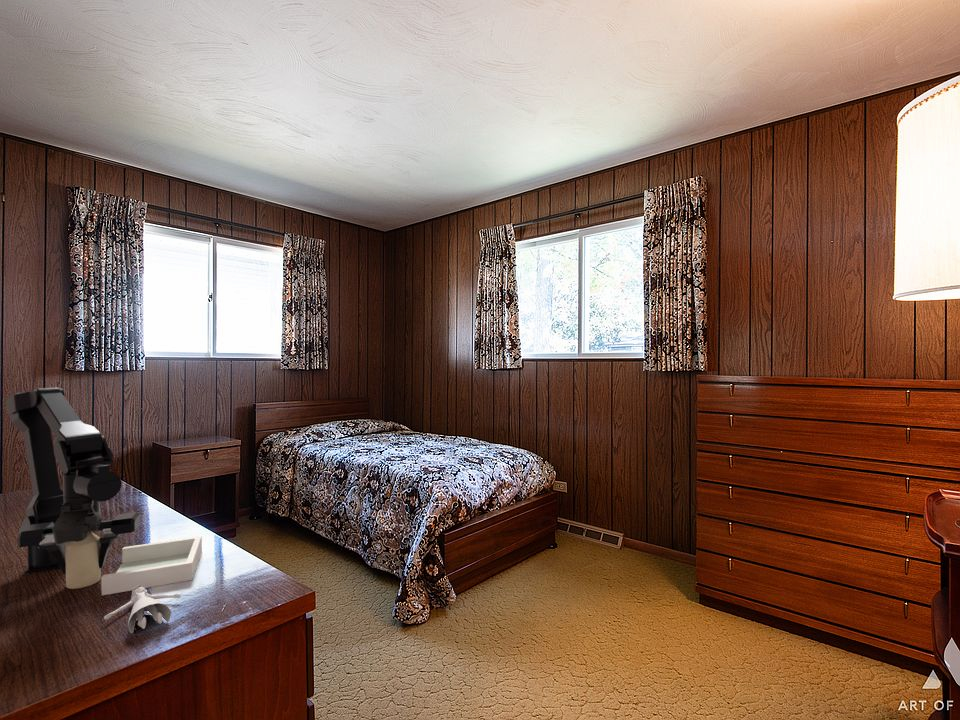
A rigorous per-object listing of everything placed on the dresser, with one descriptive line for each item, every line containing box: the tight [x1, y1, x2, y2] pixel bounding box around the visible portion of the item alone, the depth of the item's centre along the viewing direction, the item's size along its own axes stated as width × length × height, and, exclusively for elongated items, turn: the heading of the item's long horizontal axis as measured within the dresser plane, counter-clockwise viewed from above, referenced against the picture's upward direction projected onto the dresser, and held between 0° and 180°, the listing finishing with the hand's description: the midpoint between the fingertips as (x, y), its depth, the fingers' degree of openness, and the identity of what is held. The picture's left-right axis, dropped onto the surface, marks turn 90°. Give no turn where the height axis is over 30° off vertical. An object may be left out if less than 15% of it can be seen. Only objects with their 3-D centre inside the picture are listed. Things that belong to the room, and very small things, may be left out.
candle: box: [65, 532, 102, 590], centre depth 100 cm, size 6×6×10 cm
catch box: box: [100, 535, 203, 596], centre depth 105 cm, size 15×16×4 cm
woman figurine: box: [103, 585, 182, 634], centre depth 87 cm, size 12×4×18 cm
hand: (83, 570), depth 100 cm, fingers closed on candle, 5 cm apart
